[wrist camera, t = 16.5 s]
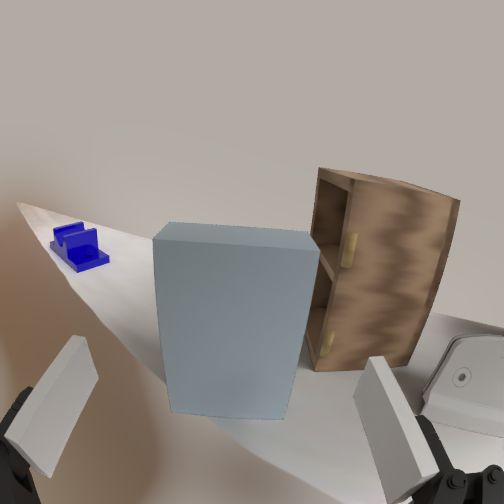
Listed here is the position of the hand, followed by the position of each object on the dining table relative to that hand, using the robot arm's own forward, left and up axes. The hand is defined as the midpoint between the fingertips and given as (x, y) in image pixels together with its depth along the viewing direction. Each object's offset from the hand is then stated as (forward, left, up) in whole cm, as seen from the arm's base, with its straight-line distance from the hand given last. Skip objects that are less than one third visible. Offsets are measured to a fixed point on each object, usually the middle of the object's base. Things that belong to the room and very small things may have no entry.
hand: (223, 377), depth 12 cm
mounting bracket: (+34, -40, -13) cm, 54 cm away
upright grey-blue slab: (0, -9, -12) cm, 15 cm away
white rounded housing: (-28, -4, -13) cm, 31 cm away
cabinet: (-15, -20, -12) cm, 28 cm away
